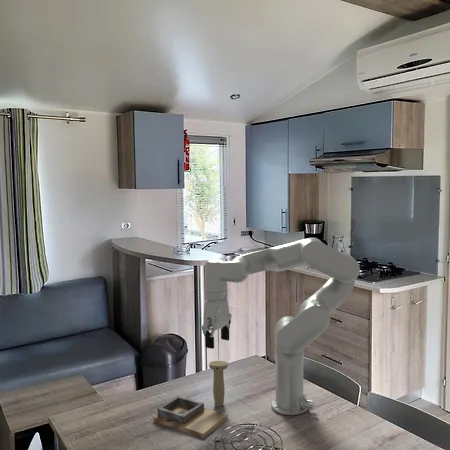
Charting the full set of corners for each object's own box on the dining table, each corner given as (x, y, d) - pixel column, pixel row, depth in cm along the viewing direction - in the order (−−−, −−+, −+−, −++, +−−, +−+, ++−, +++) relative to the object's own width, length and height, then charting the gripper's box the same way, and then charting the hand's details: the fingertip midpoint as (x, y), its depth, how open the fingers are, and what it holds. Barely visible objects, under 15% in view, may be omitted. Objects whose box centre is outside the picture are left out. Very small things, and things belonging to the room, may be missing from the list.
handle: (227, 408, 162) (226, 366, 161) (208, 407, 163) (208, 365, 162) (229, 402, 167) (228, 361, 166) (211, 401, 168) (210, 360, 167)
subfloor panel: (227, 418, 155) (227, 407, 155) (203, 438, 143) (203, 425, 143) (179, 404, 166) (179, 393, 166) (153, 421, 154) (153, 410, 154)
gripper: (221, 289, 171) (222, 335, 173) (193, 299, 157) (194, 349, 158) (238, 291, 167) (239, 338, 169) (211, 302, 153) (212, 353, 154)
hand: (217, 343), depth 163 cm, fingers open, 9 cm apart
